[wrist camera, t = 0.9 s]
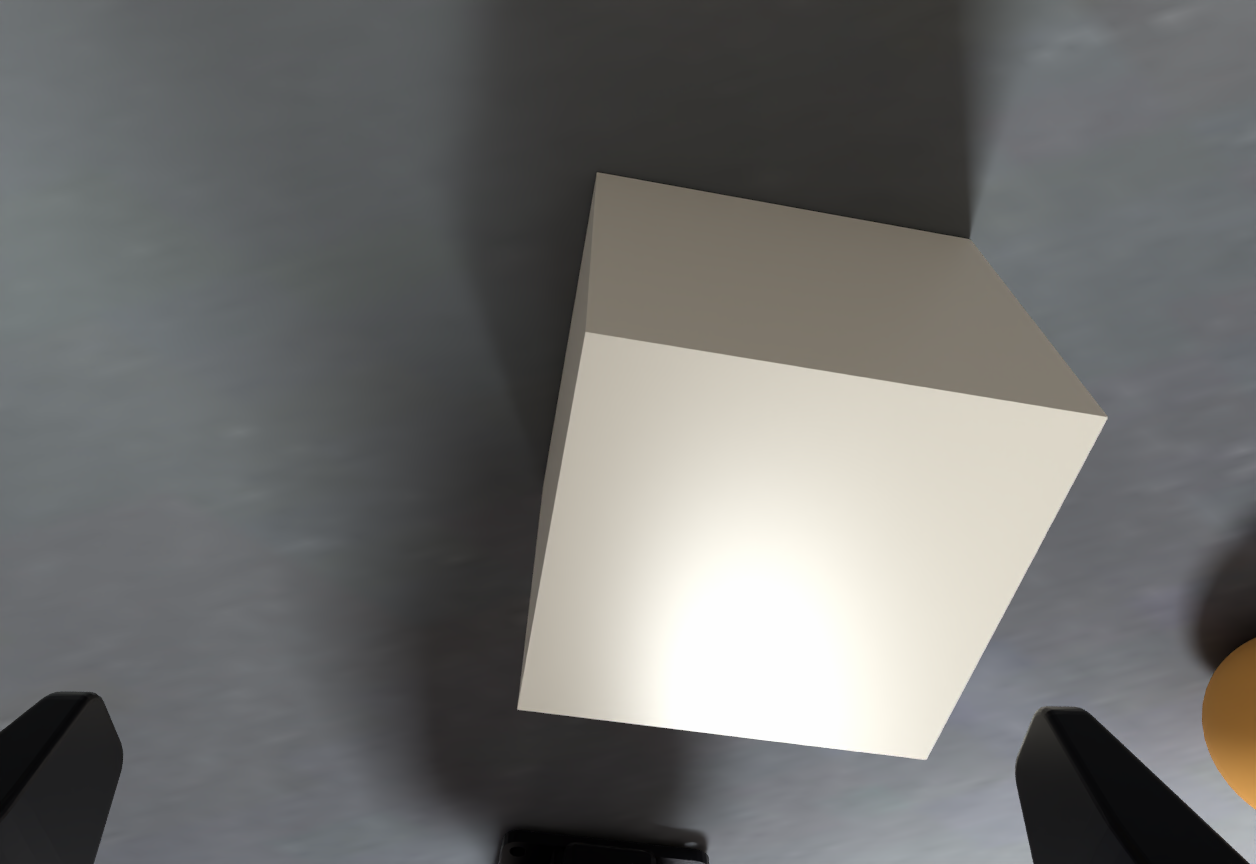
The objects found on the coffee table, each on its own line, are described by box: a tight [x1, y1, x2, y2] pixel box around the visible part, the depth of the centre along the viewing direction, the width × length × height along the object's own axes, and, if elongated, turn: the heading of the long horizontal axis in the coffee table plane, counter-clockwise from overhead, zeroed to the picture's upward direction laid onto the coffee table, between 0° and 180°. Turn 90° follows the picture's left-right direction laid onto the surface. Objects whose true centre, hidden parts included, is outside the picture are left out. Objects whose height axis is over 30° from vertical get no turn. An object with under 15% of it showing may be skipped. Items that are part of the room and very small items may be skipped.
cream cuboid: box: [517, 172, 1108, 760], centre depth 19 cm, size 8×8×7 cm
